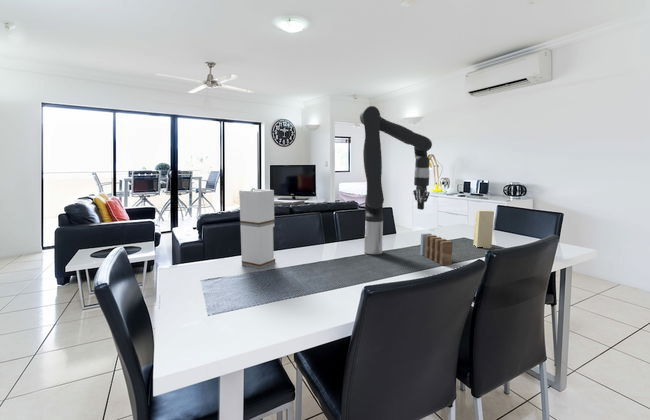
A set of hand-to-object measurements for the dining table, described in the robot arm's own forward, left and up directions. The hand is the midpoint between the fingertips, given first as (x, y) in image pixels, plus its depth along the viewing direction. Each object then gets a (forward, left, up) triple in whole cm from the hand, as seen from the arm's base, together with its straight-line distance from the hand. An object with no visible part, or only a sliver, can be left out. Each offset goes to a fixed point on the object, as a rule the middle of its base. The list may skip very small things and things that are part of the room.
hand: (420, 209), depth 182 cm
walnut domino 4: (+11, -23, -23) cm, 34 cm away
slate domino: (+3, -6, -23) cm, 24 cm away
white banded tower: (-76, -39, -23) cm, 89 cm away
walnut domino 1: (+5, -10, -23) cm, 26 cm away
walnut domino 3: (+9, -18, -23) cm, 31 cm away
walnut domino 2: (+7, -14, -23) cm, 28 cm away
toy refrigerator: (+36, +18, -23) cm, 46 cm away
